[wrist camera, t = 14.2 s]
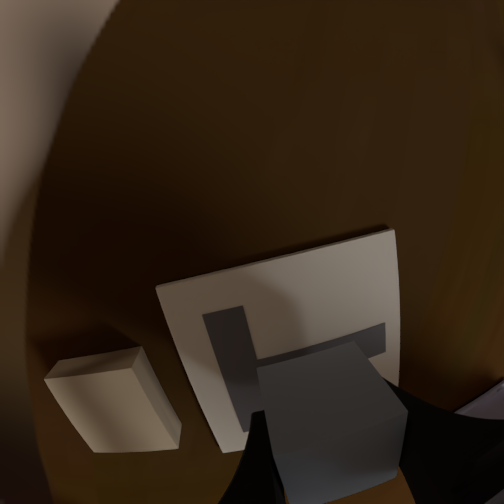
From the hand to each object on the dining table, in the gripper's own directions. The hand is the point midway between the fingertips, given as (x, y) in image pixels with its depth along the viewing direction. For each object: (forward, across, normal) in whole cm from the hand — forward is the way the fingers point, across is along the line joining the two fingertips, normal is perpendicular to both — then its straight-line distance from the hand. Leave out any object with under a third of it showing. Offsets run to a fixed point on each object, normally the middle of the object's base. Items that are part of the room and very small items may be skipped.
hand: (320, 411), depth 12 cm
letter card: (+4, 0, 0) cm, 4 cm away
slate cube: (+1, 0, 0) cm, 1 cm away
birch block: (+5, +11, 0) cm, 12 cm away
